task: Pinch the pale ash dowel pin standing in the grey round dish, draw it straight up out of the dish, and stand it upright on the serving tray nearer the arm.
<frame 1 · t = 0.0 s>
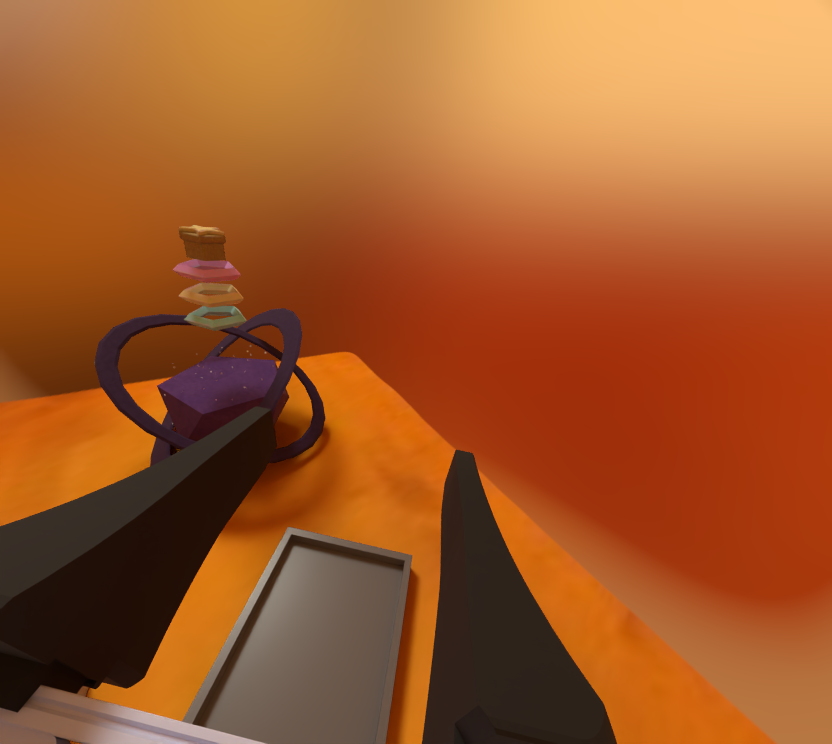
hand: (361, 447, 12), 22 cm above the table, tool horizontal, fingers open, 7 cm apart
tray: (307, 677, 21), on the table
decorative bottle: (237, 435, 40), on the table
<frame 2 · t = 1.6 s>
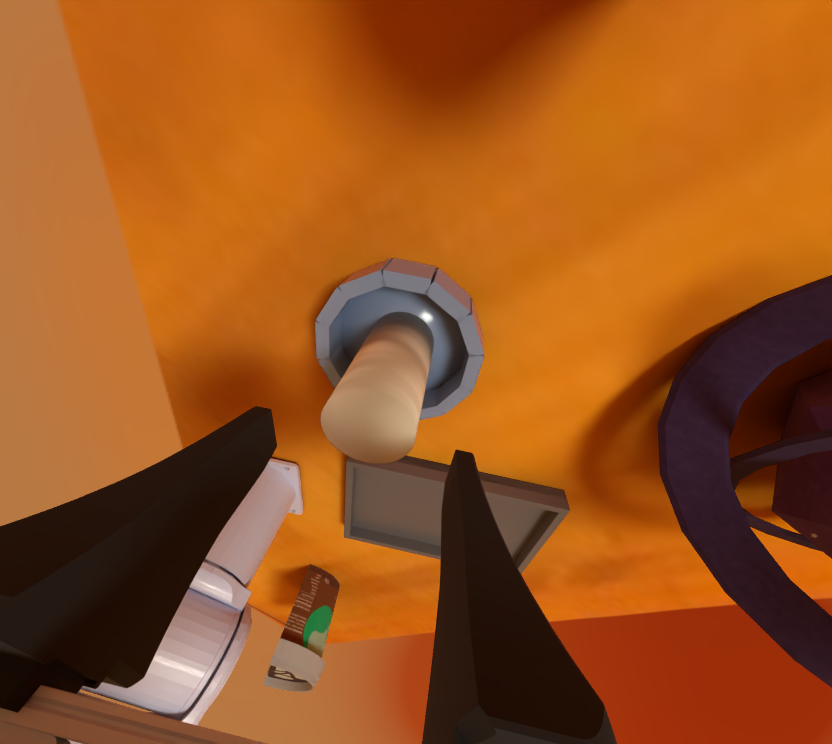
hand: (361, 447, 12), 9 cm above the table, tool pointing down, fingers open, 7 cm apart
tray: (443, 507, 29), on the table
grey round dish: (403, 338, 20), on the table
dowel pin: (402, 341, 19), resting on grey round dish
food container: (326, 583, 43), on the table
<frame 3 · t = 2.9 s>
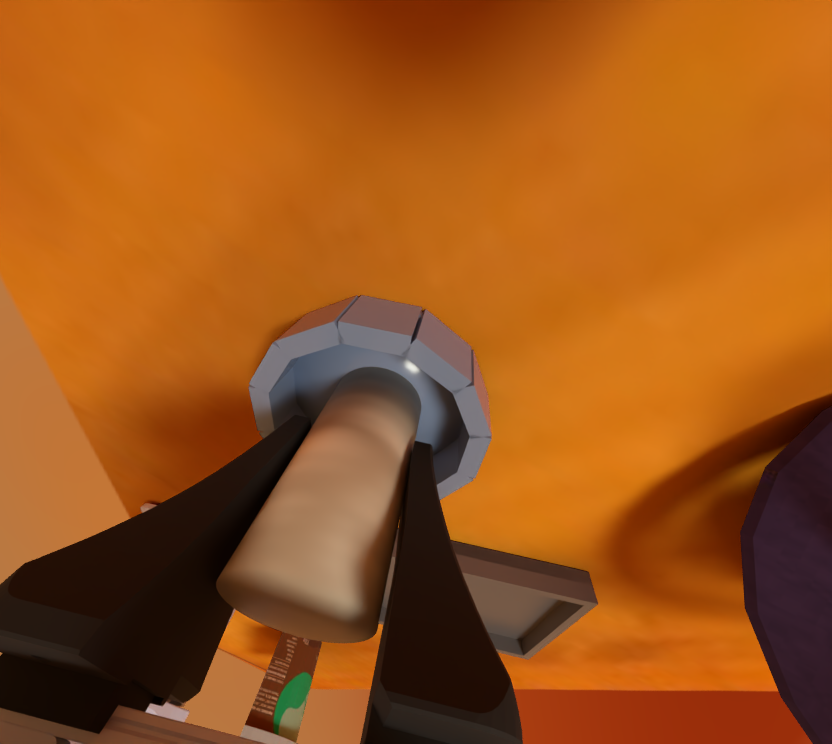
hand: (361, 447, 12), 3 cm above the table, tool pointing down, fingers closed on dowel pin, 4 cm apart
tray: (437, 579, 24), on the table
grey round dish: (381, 396, 14), on the table
dowel pin: (378, 403, 14), resting on grey round dish, touching gripper
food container: (307, 638, 38), on the table
when the fingers open (5 cm above the table, at t = 7.1 s): dowel pin drops 1 cm, resting on tray.
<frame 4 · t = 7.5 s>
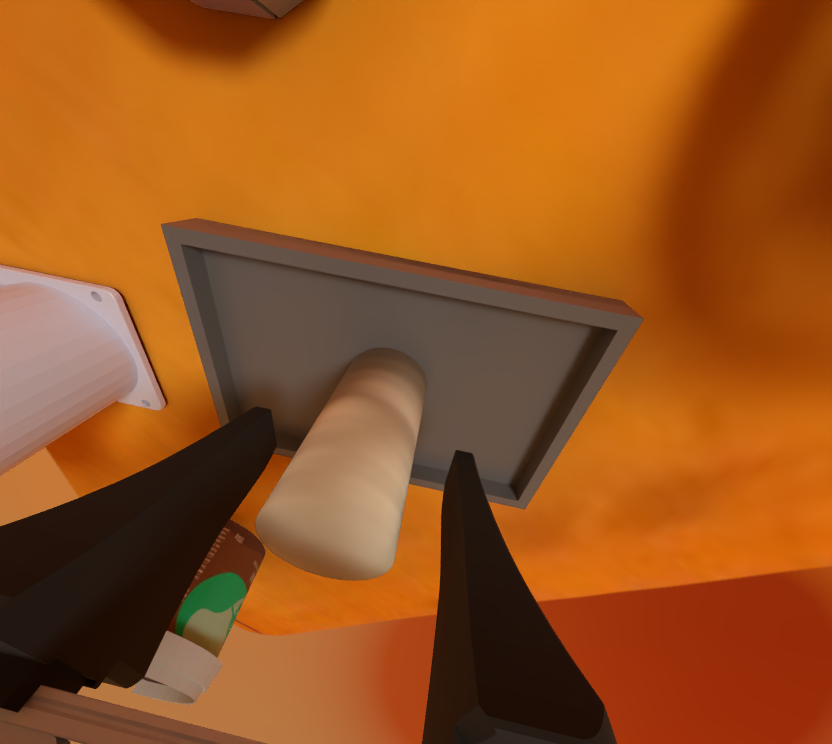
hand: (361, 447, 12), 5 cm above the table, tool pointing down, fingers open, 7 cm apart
tray: (389, 375, 16), on the table
dowel pin: (386, 382, 15), point 1 cm above the table, touching tray
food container: (247, 545, 30), on the table
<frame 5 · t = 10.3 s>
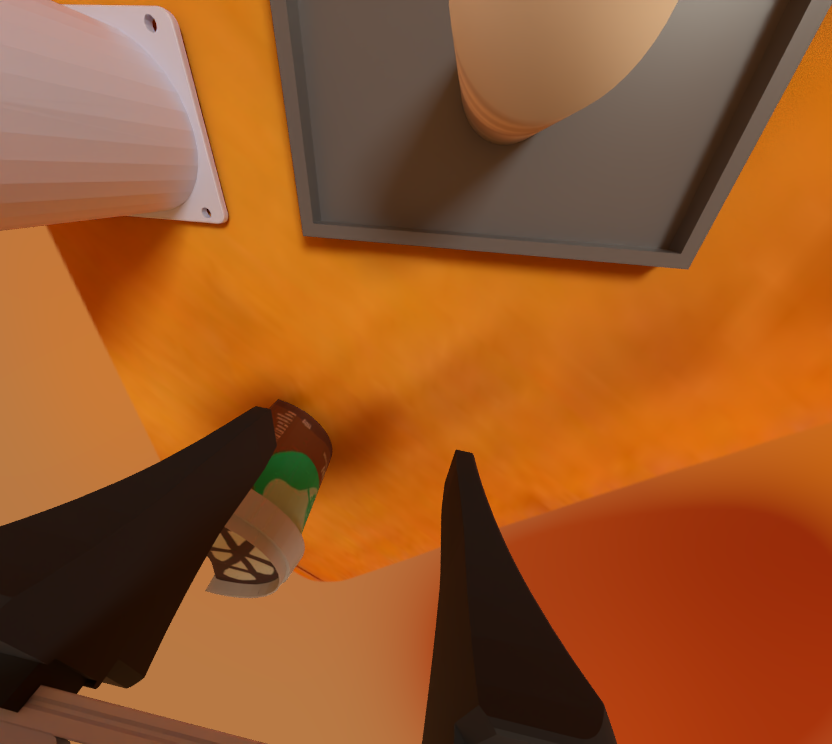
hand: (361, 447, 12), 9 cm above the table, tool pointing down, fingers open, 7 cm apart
tray: (508, 89, 12), on the table
dowel pin: (513, 80, 12), point 1 cm above the table, touching tray
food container: (312, 446, 27), on the table
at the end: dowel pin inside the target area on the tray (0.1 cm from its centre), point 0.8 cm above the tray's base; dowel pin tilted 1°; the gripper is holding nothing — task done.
